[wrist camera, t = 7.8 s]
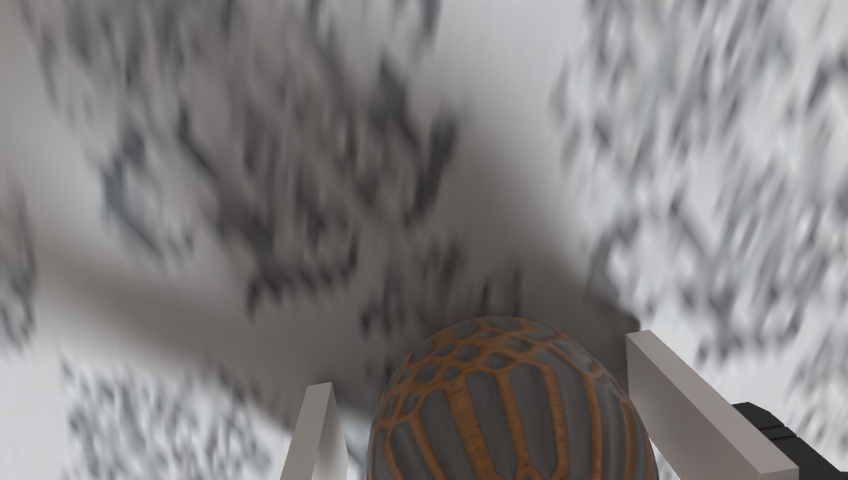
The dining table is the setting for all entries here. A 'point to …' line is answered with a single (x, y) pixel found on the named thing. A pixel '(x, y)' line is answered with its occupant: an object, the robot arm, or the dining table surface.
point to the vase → (506, 410)
